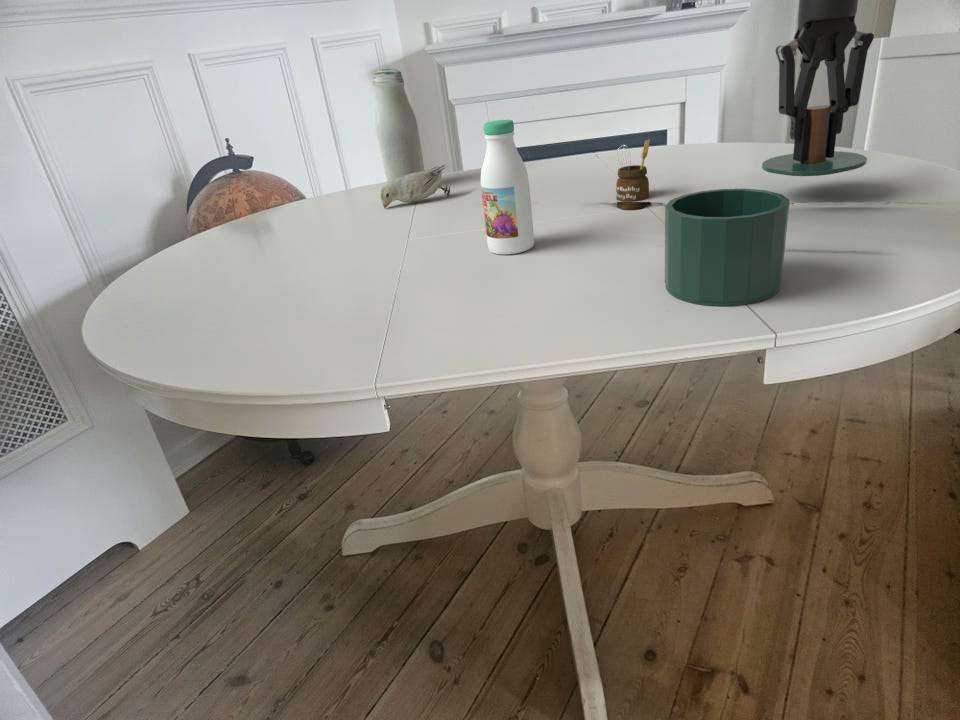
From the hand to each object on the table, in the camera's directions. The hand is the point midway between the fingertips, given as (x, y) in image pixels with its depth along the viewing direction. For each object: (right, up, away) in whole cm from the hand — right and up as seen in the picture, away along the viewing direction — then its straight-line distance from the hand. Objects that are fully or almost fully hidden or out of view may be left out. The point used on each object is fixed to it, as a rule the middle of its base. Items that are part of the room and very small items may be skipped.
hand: (813, 158), depth 100 cm
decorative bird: (-67, +4, +45) cm, 81 cm away
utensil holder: (-24, -3, +18) cm, 30 cm away
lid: (0, -1, +1) cm, 1 cm away
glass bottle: (-71, +11, +59) cm, 93 cm away
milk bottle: (-48, -14, +5) cm, 50 cm away
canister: (-22, -23, -20) cm, 38 cm away
